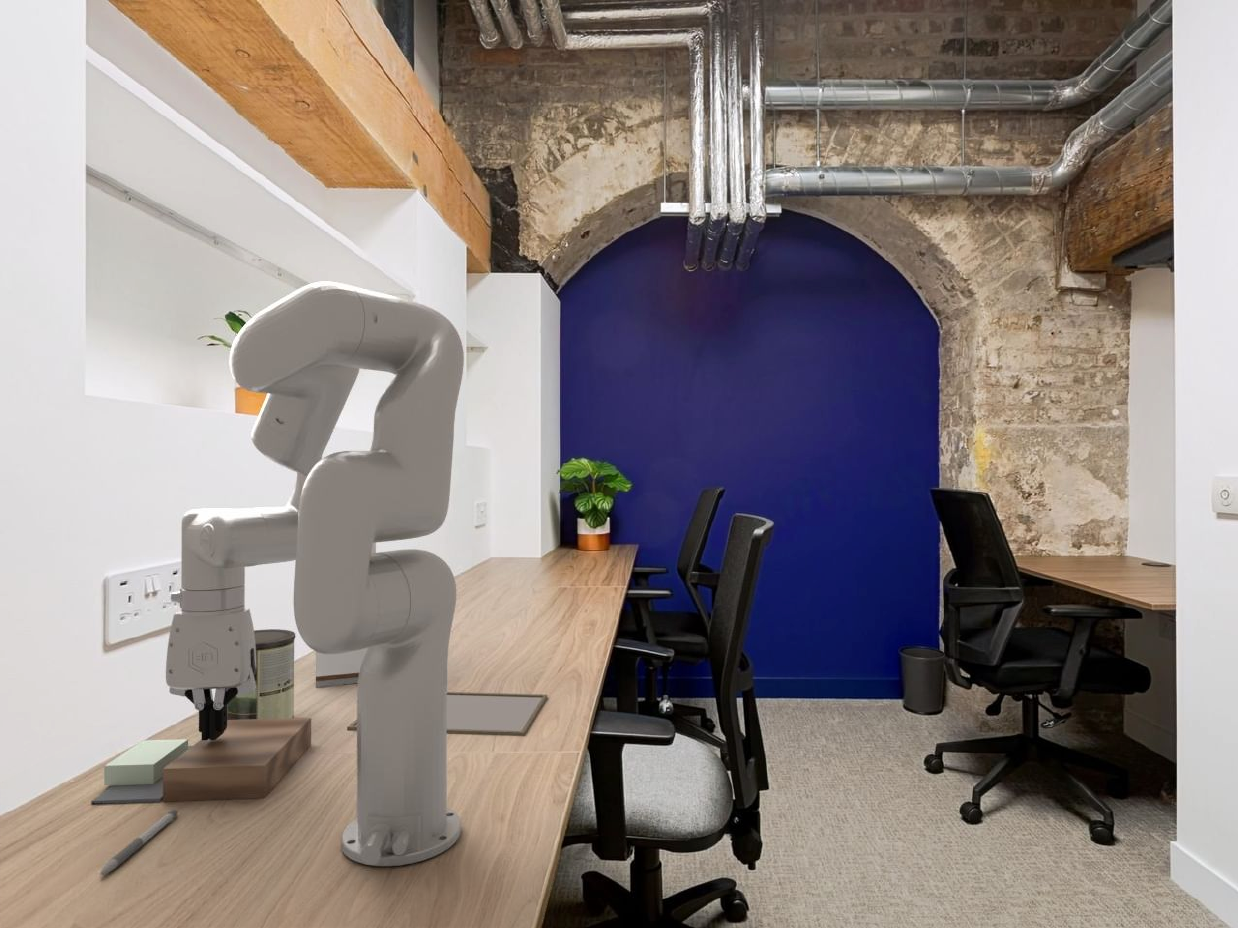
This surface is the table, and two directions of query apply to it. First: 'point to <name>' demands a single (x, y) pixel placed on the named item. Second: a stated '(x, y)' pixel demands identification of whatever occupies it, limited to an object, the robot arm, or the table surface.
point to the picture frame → (489, 713)
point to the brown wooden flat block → (238, 761)
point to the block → (143, 762)
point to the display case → (339, 664)
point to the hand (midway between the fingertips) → (213, 736)
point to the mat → (132, 793)
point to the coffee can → (269, 679)
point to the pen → (138, 842)
